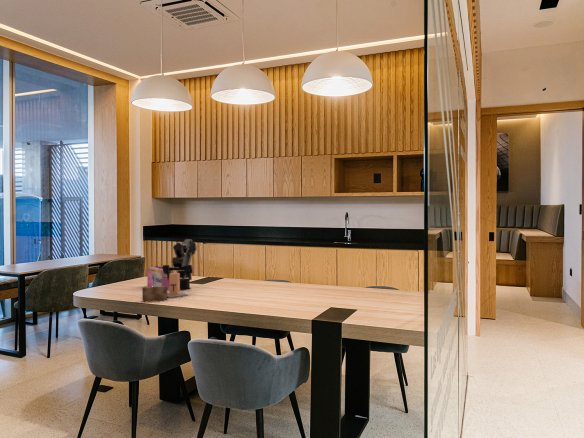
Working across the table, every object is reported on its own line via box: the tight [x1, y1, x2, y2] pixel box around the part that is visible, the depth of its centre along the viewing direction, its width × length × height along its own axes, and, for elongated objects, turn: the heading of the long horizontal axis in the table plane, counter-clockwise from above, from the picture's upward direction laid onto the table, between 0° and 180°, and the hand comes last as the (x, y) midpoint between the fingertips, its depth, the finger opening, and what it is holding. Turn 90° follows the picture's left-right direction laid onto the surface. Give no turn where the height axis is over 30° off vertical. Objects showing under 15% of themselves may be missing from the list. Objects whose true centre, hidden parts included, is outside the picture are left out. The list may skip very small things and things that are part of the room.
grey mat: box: [167, 291, 189, 299], centre depth 283 cm, size 12×12×1 cm
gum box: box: [146, 265, 173, 290], centre depth 316 cm, size 24×8×14 cm, turn 44°
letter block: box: [169, 272, 181, 295], centre depth 283 cm, size 5×5×13 cm
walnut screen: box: [141, 286, 168, 303], centre depth 268 cm, size 14×5×8 cm, turn 107°
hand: (175, 279), depth 285 cm, fingers open, 9 cm apart
